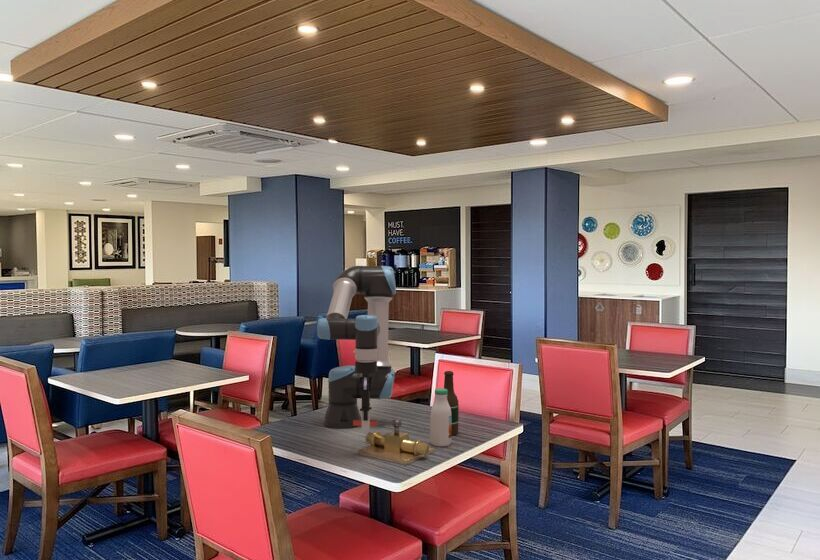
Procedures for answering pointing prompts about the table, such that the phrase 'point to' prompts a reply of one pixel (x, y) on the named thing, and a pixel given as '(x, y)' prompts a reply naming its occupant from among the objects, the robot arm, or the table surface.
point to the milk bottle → (440, 419)
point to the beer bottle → (452, 400)
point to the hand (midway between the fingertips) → (365, 429)
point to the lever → (378, 422)
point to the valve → (395, 447)
